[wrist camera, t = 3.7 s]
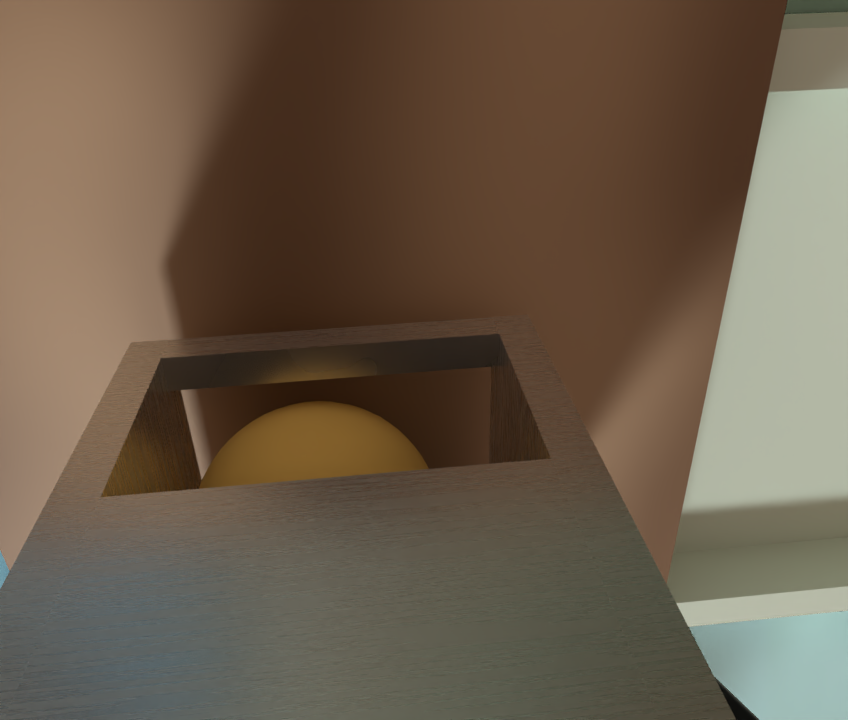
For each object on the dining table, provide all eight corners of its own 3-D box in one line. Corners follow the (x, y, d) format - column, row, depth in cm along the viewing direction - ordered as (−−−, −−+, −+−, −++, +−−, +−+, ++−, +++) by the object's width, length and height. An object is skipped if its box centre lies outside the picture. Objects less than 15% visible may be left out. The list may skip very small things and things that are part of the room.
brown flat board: (708, -56, 11) (799, -56, 9) (610, 592, 18) (646, 680, 16) (-125, -31, 10) (-254, -24, 8) (117, 639, 17) (84, 740, 15)
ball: (382, 337, 11) (489, 462, 9) (392, 504, 13) (483, 653, 10) (151, 391, 10) (189, 557, 7) (197, 567, 12) (242, 754, 9)
